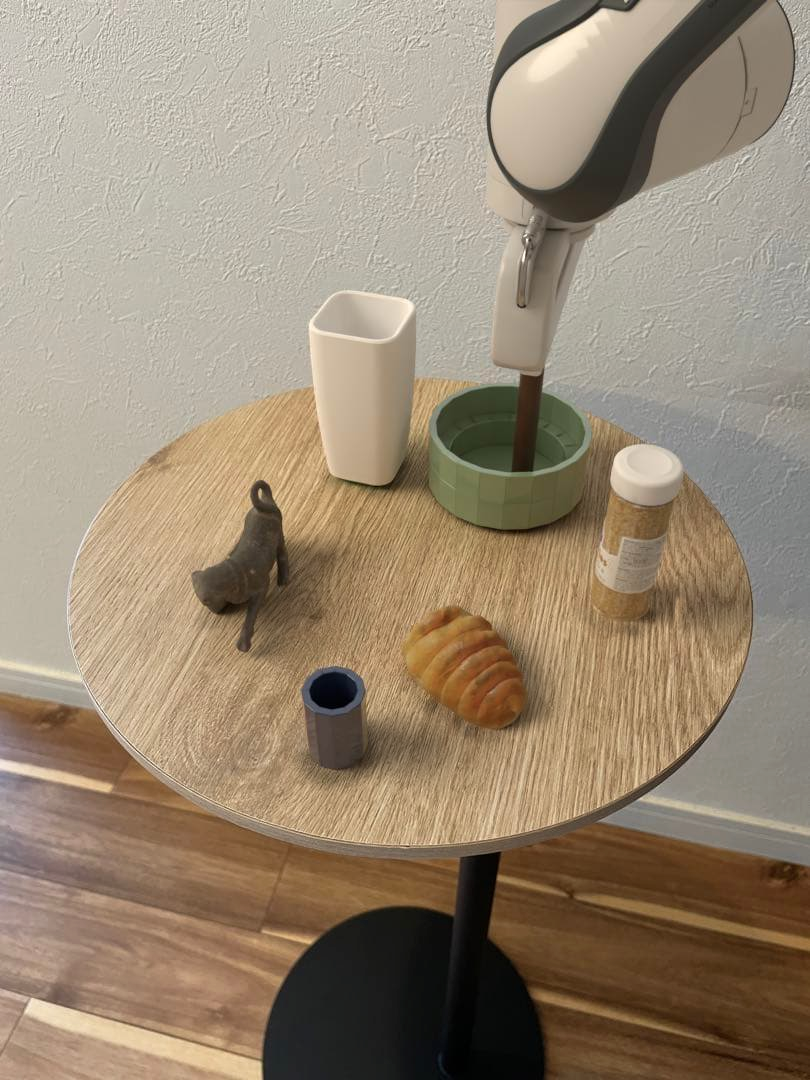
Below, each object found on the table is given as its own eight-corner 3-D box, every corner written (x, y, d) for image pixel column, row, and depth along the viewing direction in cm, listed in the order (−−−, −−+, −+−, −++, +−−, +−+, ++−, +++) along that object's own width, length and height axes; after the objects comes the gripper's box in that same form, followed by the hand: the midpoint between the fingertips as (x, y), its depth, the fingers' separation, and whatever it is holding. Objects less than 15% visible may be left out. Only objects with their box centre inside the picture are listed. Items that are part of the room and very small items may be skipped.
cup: (394, 501, 81) (392, 345, 71) (313, 484, 83) (301, 329, 73) (420, 451, 86) (422, 300, 77) (343, 436, 88) (335, 286, 78)
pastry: (551, 706, 65) (556, 669, 63) (471, 754, 62) (474, 717, 60) (466, 622, 71) (468, 585, 68) (390, 663, 68) (389, 626, 65)
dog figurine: (238, 542, 77) (227, 468, 72) (307, 553, 76) (300, 479, 71) (176, 651, 69) (159, 575, 64) (253, 666, 68) (241, 590, 63)
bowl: (592, 452, 86) (601, 395, 82) (570, 548, 77) (579, 489, 73) (448, 429, 89) (450, 372, 85) (410, 518, 80) (410, 460, 76)
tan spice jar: (586, 582, 74) (611, 439, 65) (646, 586, 74) (680, 443, 65) (589, 626, 71) (616, 481, 62) (652, 630, 70) (689, 485, 61)
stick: (534, 471, 81) (551, 321, 72) (530, 484, 80) (547, 333, 70) (513, 467, 81) (527, 318, 72) (508, 480, 80) (522, 329, 71)
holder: (374, 733, 63) (372, 673, 59) (356, 780, 61) (353, 721, 57) (319, 720, 64) (314, 660, 60) (299, 767, 61) (292, 707, 57)
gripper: (579, 249, 56) (554, 444, 65) (617, 130, 71) (593, 303, 80) (472, 237, 57) (463, 430, 66) (532, 122, 72) (517, 293, 81)
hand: (534, 359), depth 73 cm, fingers closed on stick, 2 cm apart
